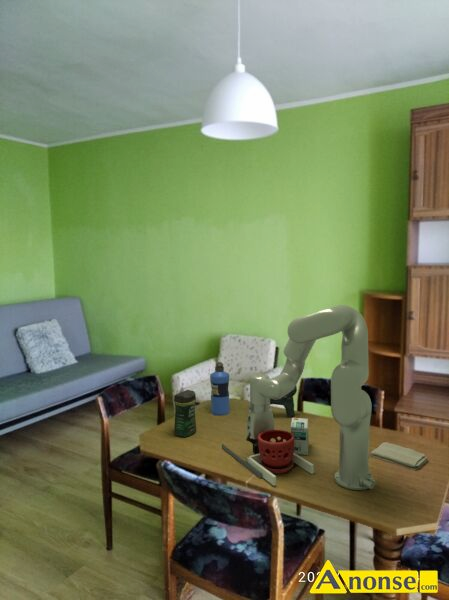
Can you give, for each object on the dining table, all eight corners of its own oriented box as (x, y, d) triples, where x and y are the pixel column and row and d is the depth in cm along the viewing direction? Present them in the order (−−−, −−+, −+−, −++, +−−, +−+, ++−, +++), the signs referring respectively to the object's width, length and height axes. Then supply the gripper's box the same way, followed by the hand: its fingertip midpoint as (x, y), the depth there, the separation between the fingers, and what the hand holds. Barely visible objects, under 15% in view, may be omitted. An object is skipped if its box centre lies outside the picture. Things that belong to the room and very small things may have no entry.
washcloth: (417, 472, 155) (417, 464, 154) (368, 457, 167) (368, 449, 167) (429, 461, 163) (429, 453, 163) (382, 447, 176) (382, 440, 175)
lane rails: (303, 465, 160) (303, 461, 160) (260, 478, 151) (260, 474, 151) (261, 438, 184) (261, 434, 184) (221, 448, 175) (221, 444, 175)
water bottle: (221, 407, 222) (220, 359, 220) (233, 412, 215) (233, 362, 213) (206, 412, 216) (206, 362, 214) (218, 417, 209) (218, 365, 207)
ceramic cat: (296, 414, 212) (296, 373, 210) (298, 419, 205) (298, 377, 203) (254, 414, 212) (254, 374, 210) (255, 419, 206) (255, 377, 204)
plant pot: (296, 460, 164) (296, 429, 163) (292, 478, 151) (292, 444, 150) (261, 457, 167) (261, 426, 166) (255, 473, 155) (254, 441, 153)
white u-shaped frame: (313, 473, 154) (313, 456, 153) (273, 485, 146) (273, 468, 145) (276, 448, 174) (276, 434, 173) (239, 458, 165) (238, 443, 165)
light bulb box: (308, 455, 168) (308, 428, 167) (290, 454, 170) (290, 427, 168) (308, 443, 179) (308, 418, 178) (291, 442, 180) (291, 417, 179)
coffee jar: (186, 439, 185) (185, 396, 183) (171, 435, 189) (170, 393, 187) (199, 431, 193) (198, 390, 191) (185, 427, 197) (184, 387, 195)
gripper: (246, 413, 159) (247, 462, 161) (283, 405, 167) (283, 452, 169) (236, 407, 166) (236, 454, 167) (272, 400, 173) (272, 445, 175)
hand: (260, 452), depth 168 cm, fingers closed on white u-shaped frame, 3 cm apart
